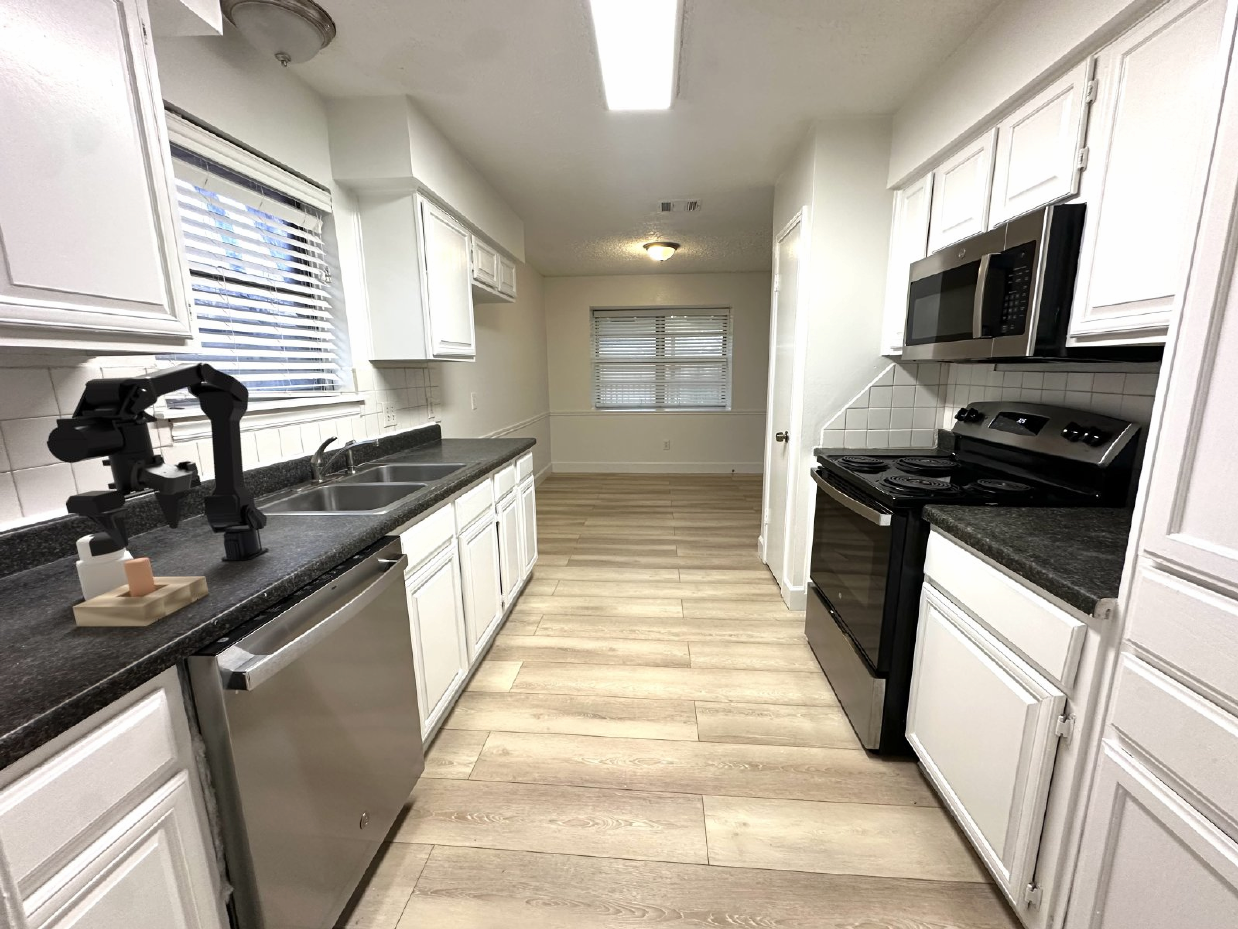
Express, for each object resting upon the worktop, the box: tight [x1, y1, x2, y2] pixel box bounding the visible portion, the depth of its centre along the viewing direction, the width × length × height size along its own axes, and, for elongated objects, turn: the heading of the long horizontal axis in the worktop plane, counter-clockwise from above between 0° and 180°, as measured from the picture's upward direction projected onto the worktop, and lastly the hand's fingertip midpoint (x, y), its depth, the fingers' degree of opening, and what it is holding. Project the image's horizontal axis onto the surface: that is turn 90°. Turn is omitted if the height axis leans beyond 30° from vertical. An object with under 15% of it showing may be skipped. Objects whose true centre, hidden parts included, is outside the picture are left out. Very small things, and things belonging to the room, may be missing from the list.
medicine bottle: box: [75, 531, 135, 601], centre depth 93 cm, size 7×7×12 cm
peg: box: [124, 557, 156, 597], centre depth 87 cm, size 3×3×9 cm
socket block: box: [72, 575, 209, 627], centre depth 87 cm, size 12×12×4 cm
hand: (150, 537), depth 89 cm, fingers open, 9 cm apart
